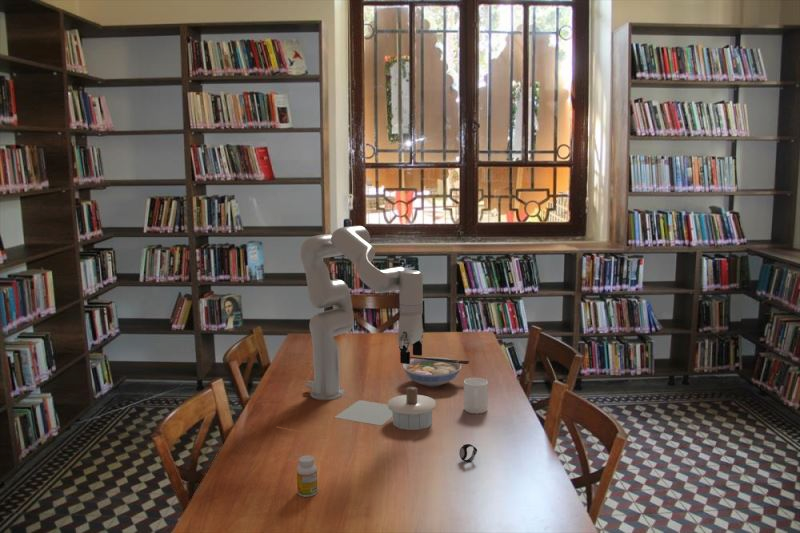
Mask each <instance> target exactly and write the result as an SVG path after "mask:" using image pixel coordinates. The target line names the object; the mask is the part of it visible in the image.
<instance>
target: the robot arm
mask: <svg viewBox="0 0 800 533" xmlns="http://www.w3.org/2000/svg"><path fill="white" fill-rule="evenodd" d="M370 241H371V235H370V232H369V231H368V229H367V228H365V226H362V225H352V226H351V225H350V226H344V227H343V226H342V227H338V228H337V229H336V230H334V231H333V232H332V233H324V234H318V235H313V236H310V237H308V238H306V239H305V240H304V241H303V242H302V244H301V247H300V254H299V255H300V258H301V259H300V260H301V262H302V265H303V268H304V272H305V278H306V284H307V291H308V297H309V298H308V299H309V303H310V305H311V306H312V308H315V309H325V308H330V307H332V309H331V310H330V309H329V310H325V311H322V312H319V313H317V314H314V315H313V316H312V317H311V318H310V320H309V325H308V326H309V331H310V332H309V333H310V335H311V341H312V356H313V380H307V382H306V384H305V385H306V386H305V387H306V388H310V389H311V390H310V392H309V394H310V395H309V396H310V397H311V398H312V399H314V400H319V401H332V400H336V399H340V398H342V397H343V396H344V395H345V390H344V389H343V388H341V378H340V377H341V376H340V374H341V373H340V372H341V371H340V369H341V368H340V349H339V344H338V342H337V341H336V340H335V337H336V336H339V335H342V334H345V333H348V332H350V331H351V330H352V329H353V327H354V325H355V318H354V316H355V315H354V310H353V303H352V298H351V297H352V296H351V292H350V288H349V286H348V284H347V283H346V282H345V281H343V280H342V279H338V278H336V279H331V276H330V270H329V267H328V266H327V264H326V263H325V261H323V259H327V258H333V257H339V256H344V257H345V258H346V259H348V260H349V261H350V262H351V263H353V264H354V265H355V266H356V273H357V274H358V277H359V279H360V281H361V282H363V284H365V285H366V286H367V287H368V288H369V289H371V290H373V292H376V293H378V294H385V293H389V292H395V291H399V319H398V329H397V331H398V333H397V342H398V348H399V353H400V356H399V361H400V364H402V365H404V364H410V360H411V358H410V357H411V352H410V347H411V346H412V355H413V356H416V357H417V356H418V357H421V356H422V355H423V337H424V335H423V334H424V327H423V315H422V314H423V313H424V311H423V310H424V308H423V307H424V296H423V294H424V293H423V291H424V290H423V288H424V287H423V286H424V282H423V280H424V278H423V273H422V271H419V270H416V269H408V268H406V267H403V266H394V267H388V268H384V269H379V268H377V267H376V266H375V265H373V264H372V262H373V261H374V259H375V256H376V250H375V247H374V246H373V245H371V244H370V243H371V242H370Z"/></svg>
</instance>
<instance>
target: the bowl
mask: <svg viewBox="0 0 800 533" xmlns="http://www.w3.org/2000/svg"><path fill="white" fill-rule="evenodd" d="M391 419H392V420H391V421H392V425H393V426H394V427H396V428H398V429H401V430H405V431H406V430H407V431H416V430H423V429H424V430H426V429H428V428H430V427H431V426H432V425H433V410H432V411H431V412H428V413H424V414H418V415H405V414H399V413H395V412H393V411H392V418H391Z"/></svg>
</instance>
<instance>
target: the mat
mask: <svg viewBox="0 0 800 533" xmlns="http://www.w3.org/2000/svg"><path fill="white" fill-rule="evenodd" d="M333 418H335V419H339V420H346V421H351V422H358V423H364V424H369V425H374V426H380V427H382V426H383V425H384V424H386V423H387V422H388V421H390V419H392V411H391V410H390V409H389V408H388V403H380V402H373V401H368V400H367V401H366V400H362V399H359V400H358V401H356V402H354V403H352V404H351V405H350V406H349V407H347V408H345V409H344V410H343V411H341V412H340V413H338V414H337V415H335V416H334V417H333Z"/></svg>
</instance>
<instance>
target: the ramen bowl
mask: <svg viewBox="0 0 800 533" xmlns="http://www.w3.org/2000/svg"><path fill="white" fill-rule="evenodd" d="M469 363H470V360H462V359H461V360H460V359H459V360H458V359H452V358H447V357H439V356H438V357H437V356H425V357H419V356H418V357H417V356H416V357H415V356H414V357H413V356H410V364H402V368H403V369H404V371H405V373H406V374H407V376H408V377H409V378H410V379H411V380H412V381H413V382H415V383H417V384H420V385H423V386H425V387H432V388H434V387H440V386H442V385H445V384H447V383H449V382H452V381H453V380H455V378H456V377H457V375H458V374H459V373H460V371H461V368H462V364H463V365H469Z"/></svg>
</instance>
